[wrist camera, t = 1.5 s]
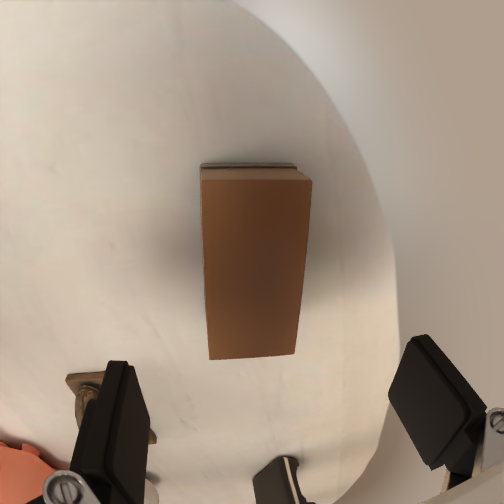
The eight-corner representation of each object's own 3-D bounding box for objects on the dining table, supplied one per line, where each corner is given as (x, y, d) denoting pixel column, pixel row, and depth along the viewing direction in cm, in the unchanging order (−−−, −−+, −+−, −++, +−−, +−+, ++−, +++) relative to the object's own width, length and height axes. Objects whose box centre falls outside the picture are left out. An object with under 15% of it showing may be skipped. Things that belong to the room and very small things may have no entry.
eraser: (206, 319, 21) (207, 361, 17) (200, 163, 17) (197, 178, 13) (282, 315, 21) (295, 355, 18) (292, 163, 17) (315, 177, 14)
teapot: (-22, 407, 23) (-55, 488, 11) (97, 469, 28) (86, 556, 17) (-17, 448, 27) (-37, 510, 16) (76, 495, 32) (68, 560, 21)
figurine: (172, 457, 28) (172, 528, 20) (134, 458, 27) (129, 526, 20) (112, 369, 22) (89, 464, 14) (66, 373, 21) (36, 459, 14)
